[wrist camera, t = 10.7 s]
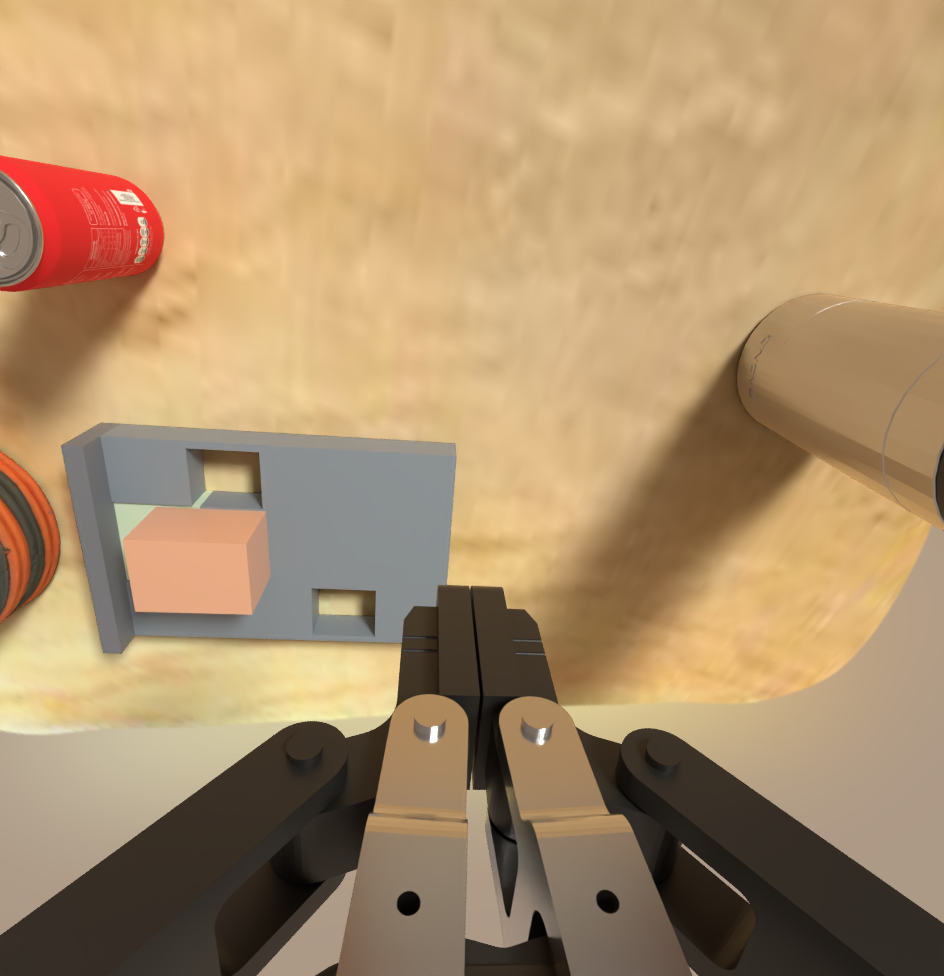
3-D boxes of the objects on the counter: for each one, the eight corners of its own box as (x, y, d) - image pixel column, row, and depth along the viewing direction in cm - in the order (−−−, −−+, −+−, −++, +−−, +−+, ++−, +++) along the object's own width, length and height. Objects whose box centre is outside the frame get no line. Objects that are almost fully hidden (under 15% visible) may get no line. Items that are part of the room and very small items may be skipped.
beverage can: (149, 292, 35) (22, 319, 25) (63, 239, 34) (-114, 242, 23) (186, 214, 34) (68, 206, 23) (97, 155, 33) (-75, 116, 22)
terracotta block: (266, 511, 39) (246, 544, 35) (270, 576, 41) (252, 614, 37) (155, 506, 38) (122, 539, 34) (165, 572, 40) (135, 611, 36)
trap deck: (455, 443, 40) (457, 467, 36) (441, 623, 46) (442, 661, 42) (101, 422, 38) (61, 445, 34) (133, 613, 44) (103, 653, 40)
